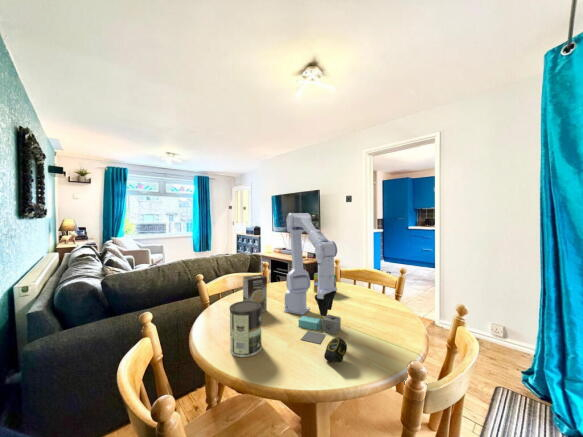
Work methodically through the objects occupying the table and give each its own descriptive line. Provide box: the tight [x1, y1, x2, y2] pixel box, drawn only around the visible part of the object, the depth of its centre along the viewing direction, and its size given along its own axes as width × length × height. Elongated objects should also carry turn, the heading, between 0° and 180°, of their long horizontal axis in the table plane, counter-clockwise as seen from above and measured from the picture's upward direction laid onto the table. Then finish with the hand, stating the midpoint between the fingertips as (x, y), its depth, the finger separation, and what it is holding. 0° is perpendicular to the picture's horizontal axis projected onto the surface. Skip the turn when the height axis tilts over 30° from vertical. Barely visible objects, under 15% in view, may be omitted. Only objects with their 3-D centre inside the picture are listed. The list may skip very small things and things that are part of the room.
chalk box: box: [313, 272, 337, 294], centre depth 134 cm, size 9×9×15 cm
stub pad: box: [300, 330, 327, 345], centre depth 87 cm, size 7×7×1 cm
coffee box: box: [242, 274, 268, 313], centre depth 111 cm, size 9×6×16 cm
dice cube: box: [322, 313, 342, 336], centre depth 92 cm, size 5×5×5 cm
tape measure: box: [323, 336, 348, 363], centre depth 73 cm, size 7×7×4 cm
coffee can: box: [228, 300, 263, 358], centre depth 80 cm, size 10×10×14 cm
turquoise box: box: [298, 315, 323, 332], centre depth 95 cm, size 8×4×3 cm, turn 66°
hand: (326, 312), depth 88 cm, fingers open, 6 cm apart
